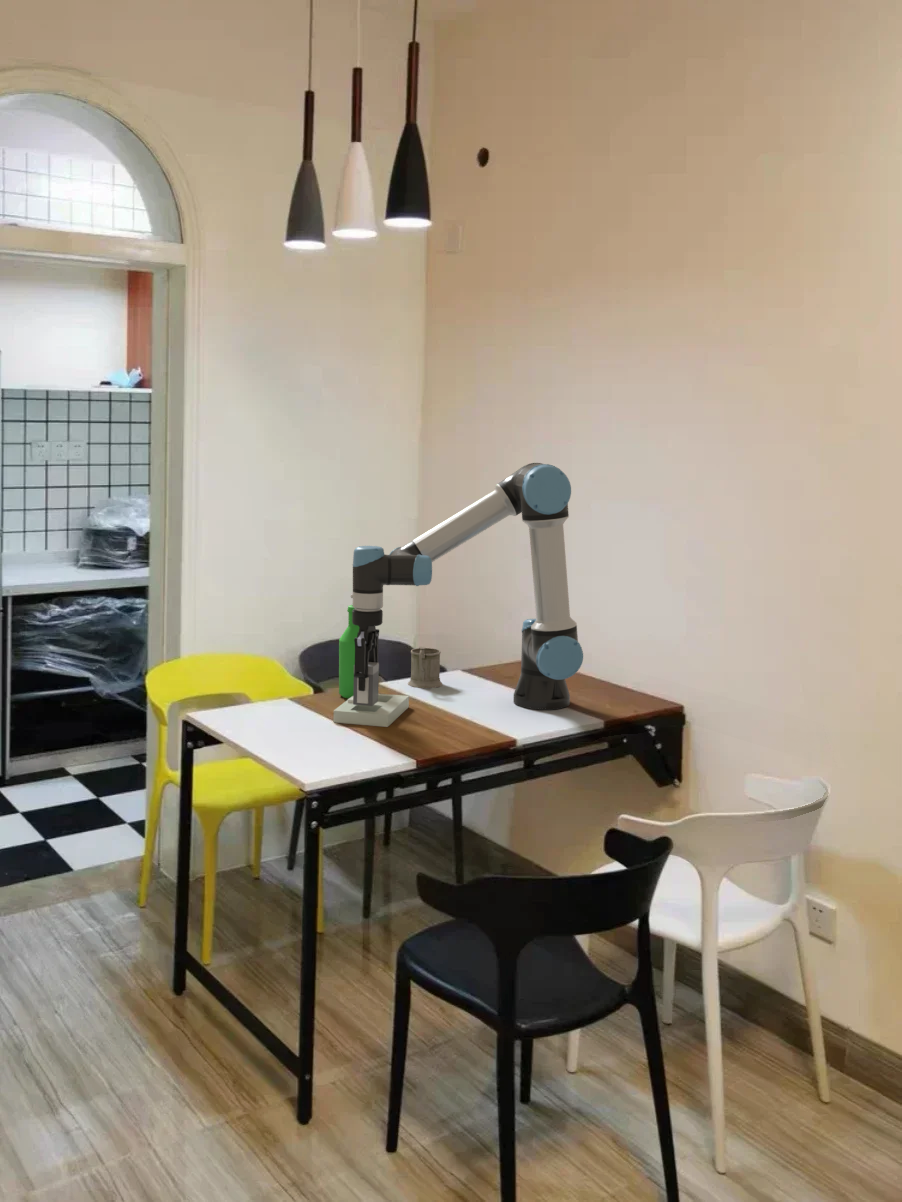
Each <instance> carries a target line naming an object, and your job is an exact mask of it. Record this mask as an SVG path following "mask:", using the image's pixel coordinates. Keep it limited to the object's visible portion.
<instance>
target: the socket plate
mask: <svg viewBox="0 0 902 1202" xmlns="http://www.w3.org/2000/svg"><path fill="white" fill-rule="evenodd" d="M409 701H410V695H402V694H386V693H378V702H377V703H376V704H374V705H373V706H365V705H353V696H352V697H350V698H349V699H348V698H347V700H345V701H344V702H342V704H340V705H339V706H338V707H336V708H335V709H333V723H337V724H349V725H360V726H370V727H385V728H388V727H389V726H390V725H391V724H393V723H394V722H395V721H396V720H397V719H398V718H399V717H400V716H401V715H403V713H404V712H405V711H407V710H408V708H409V707H410V702H409Z"/></svg>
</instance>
